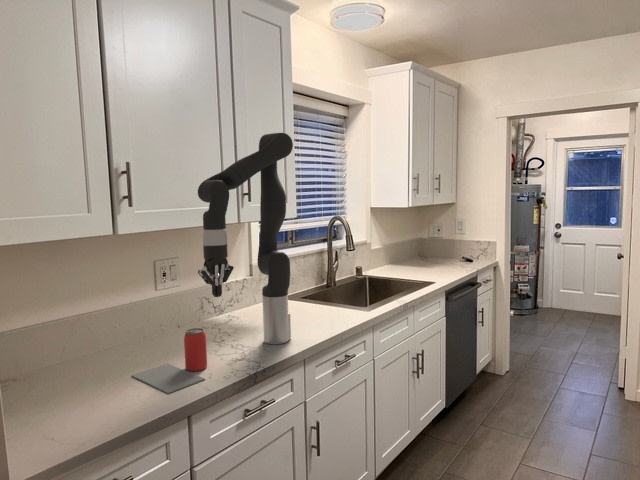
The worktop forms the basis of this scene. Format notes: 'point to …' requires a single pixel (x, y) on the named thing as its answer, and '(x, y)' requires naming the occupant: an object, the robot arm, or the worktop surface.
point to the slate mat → (168, 378)
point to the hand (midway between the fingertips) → (217, 296)
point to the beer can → (195, 349)
